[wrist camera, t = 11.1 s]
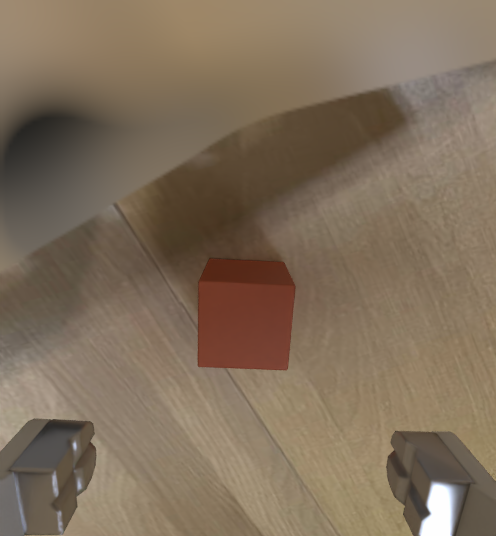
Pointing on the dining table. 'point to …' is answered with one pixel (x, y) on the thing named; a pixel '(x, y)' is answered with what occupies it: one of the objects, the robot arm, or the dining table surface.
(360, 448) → the dining table surface
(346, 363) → the dining table surface
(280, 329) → the block
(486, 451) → the dining table surface
